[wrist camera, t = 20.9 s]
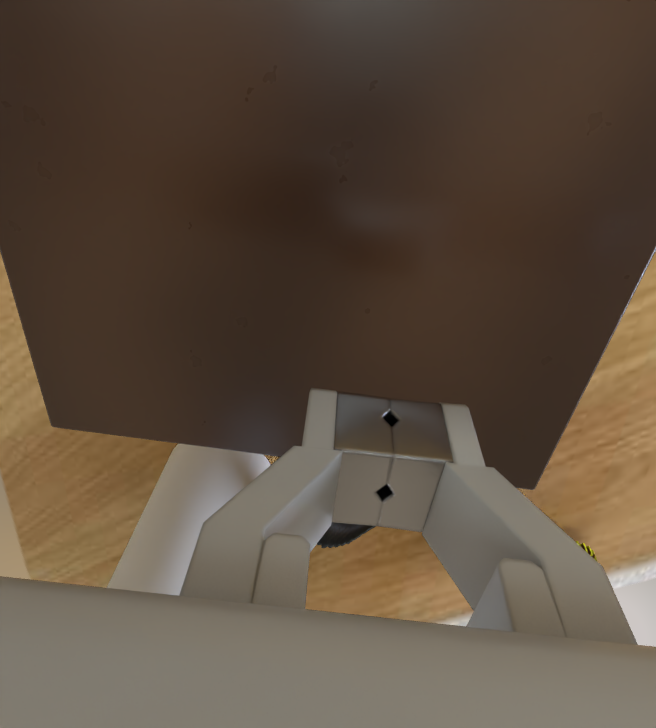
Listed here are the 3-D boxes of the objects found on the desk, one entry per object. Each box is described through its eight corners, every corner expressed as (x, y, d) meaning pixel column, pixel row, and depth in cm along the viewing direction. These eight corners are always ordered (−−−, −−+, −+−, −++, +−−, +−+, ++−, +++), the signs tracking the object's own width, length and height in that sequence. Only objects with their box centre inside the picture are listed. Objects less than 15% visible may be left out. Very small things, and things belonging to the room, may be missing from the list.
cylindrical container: (232, 521, 36) (38, 1193, 15) (148, 470, 33) (-218, 1187, 13) (296, 476, 32) (161, 1251, 12) (209, 415, 30) (-152, 1258, 9)
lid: (763, -15, 9) (794, -18, 9) (528, 472, 17) (535, 491, 16) (-78, -119, 10) (-114, -130, 9) (63, 411, 17) (50, 427, 17)
